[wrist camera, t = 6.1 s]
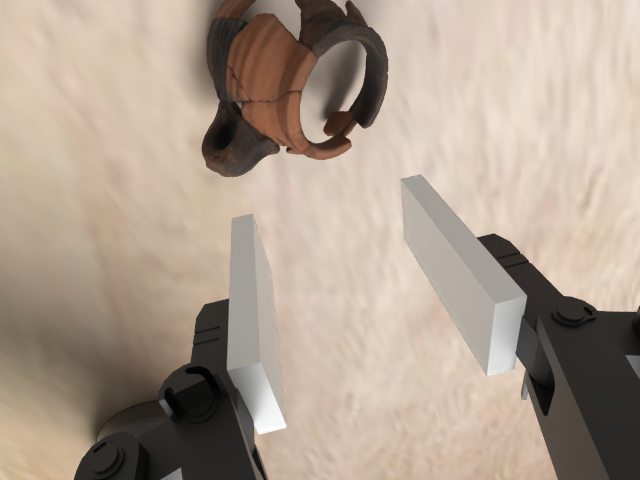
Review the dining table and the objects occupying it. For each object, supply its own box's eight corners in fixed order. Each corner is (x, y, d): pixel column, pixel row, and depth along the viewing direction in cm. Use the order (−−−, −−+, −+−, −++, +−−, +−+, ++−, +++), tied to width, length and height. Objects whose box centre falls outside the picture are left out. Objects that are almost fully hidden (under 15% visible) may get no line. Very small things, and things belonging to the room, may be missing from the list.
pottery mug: (255, -71, 22) (358, -48, 17) (335, 46, 30) (420, 83, 25) (131, 110, 23) (196, 177, 18) (239, 177, 31) (304, 236, 26)
